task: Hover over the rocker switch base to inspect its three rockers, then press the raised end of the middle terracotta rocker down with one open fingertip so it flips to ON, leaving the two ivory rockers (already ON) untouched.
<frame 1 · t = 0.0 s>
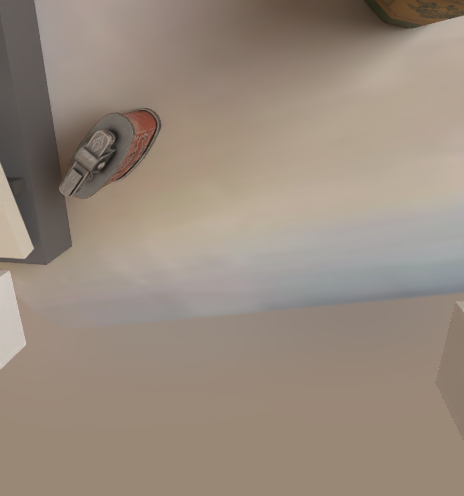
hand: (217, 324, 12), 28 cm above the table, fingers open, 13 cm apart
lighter: (132, 144, 39), on the table
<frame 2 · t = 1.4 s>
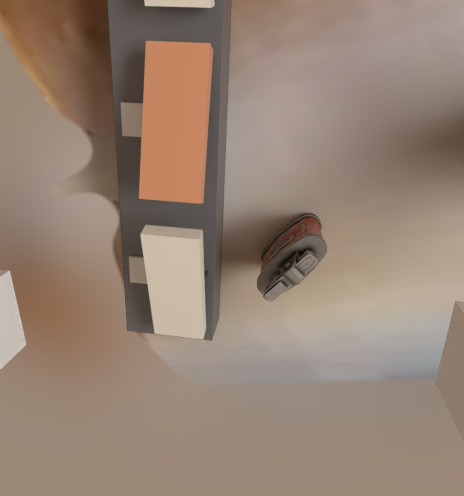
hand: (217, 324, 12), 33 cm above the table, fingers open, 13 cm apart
rocker middle: (175, 125, 35), point 8 cm above the table, hinge at -14.0°
rocker switch base: (179, 118, 42), on the table
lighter: (290, 240, 46), on the table
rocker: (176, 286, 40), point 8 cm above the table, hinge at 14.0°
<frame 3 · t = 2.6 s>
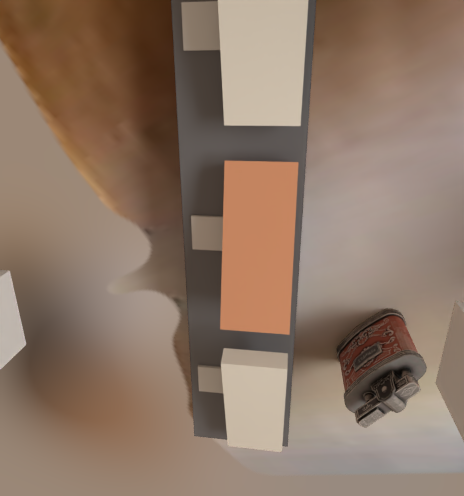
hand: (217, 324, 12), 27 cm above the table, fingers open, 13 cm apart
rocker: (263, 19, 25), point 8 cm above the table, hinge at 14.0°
rocker middle: (258, 247, 31), point 8 cm above the table, hinge at -14.0°
rocker switch base: (247, 216, 39), on the table
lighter: (368, 335, 42), on the table
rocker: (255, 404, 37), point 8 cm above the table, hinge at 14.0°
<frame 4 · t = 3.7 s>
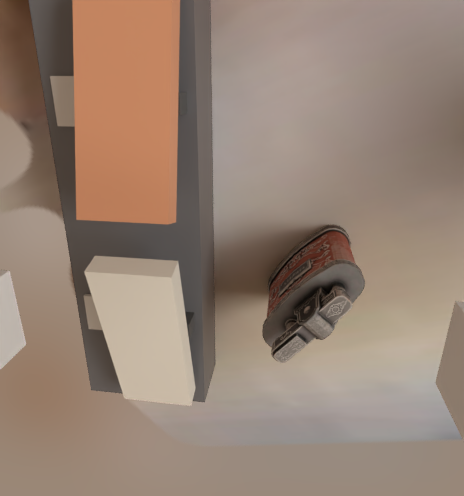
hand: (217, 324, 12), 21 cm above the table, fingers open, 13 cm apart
rocker middle: (127, 104, 22), point 8 cm above the table, hinge at -14.0°
rocker switch base: (145, 99, 30), on the table
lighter: (307, 262, 33), on the table
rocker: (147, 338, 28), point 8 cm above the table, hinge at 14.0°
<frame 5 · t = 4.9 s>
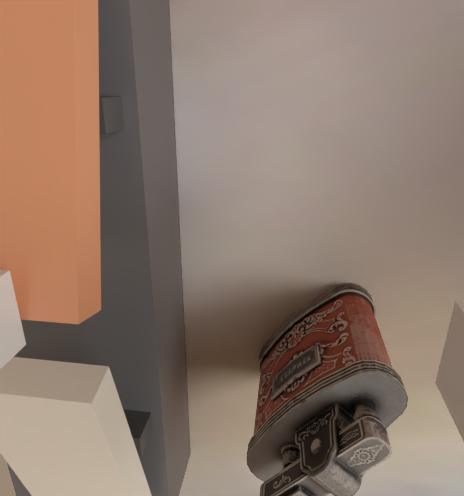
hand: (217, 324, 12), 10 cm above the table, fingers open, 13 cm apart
rocker middle: (9, 117, 13), point 8 cm above the table, hinge at -14.0°, touching gripper
rocker switch base: (78, 105, 21), on the table
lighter: (313, 330, 24), on the table
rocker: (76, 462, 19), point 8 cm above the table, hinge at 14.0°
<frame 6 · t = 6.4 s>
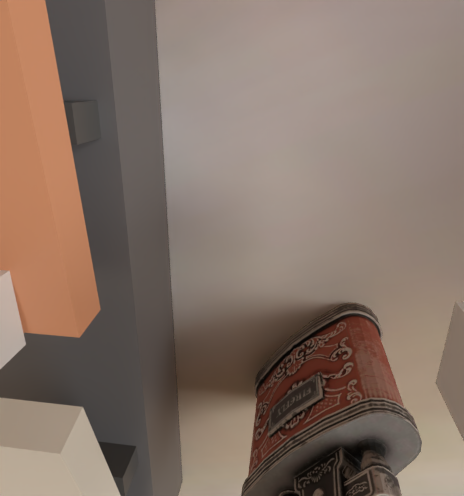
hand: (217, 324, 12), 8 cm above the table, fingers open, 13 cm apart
rocker switch base: (57, 109, 19), on the table
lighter: (313, 353, 22), on the table
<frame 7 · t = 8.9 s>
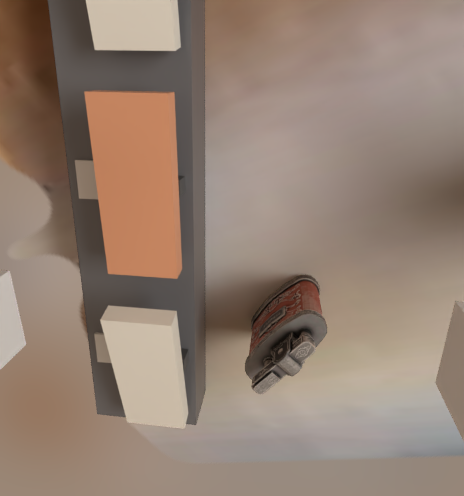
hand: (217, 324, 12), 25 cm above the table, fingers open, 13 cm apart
rocker middle: (138, 190, 28), point 8 cm above the table, hinge at 4.2°
rocker switch base: (150, 170, 36), on the table
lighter: (284, 304, 39), on the table
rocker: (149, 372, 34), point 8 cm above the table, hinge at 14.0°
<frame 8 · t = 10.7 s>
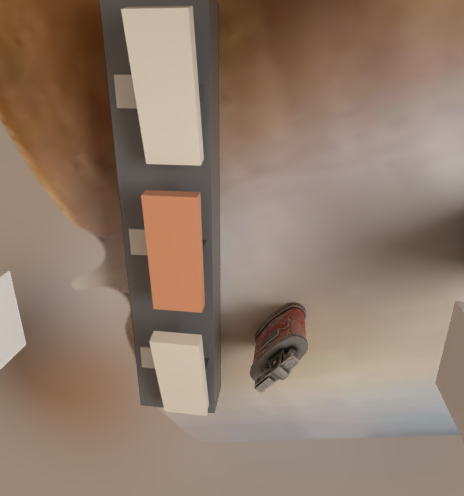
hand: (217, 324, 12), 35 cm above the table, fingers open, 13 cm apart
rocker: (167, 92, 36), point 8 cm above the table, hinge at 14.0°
rocker middle: (175, 254, 41), point 8 cm above the table, hinge at 4.2°
rocker switch base: (179, 228, 49), on the table
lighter: (280, 323, 52), on the table
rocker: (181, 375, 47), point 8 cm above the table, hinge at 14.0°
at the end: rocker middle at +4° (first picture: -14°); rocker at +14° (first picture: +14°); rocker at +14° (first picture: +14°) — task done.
